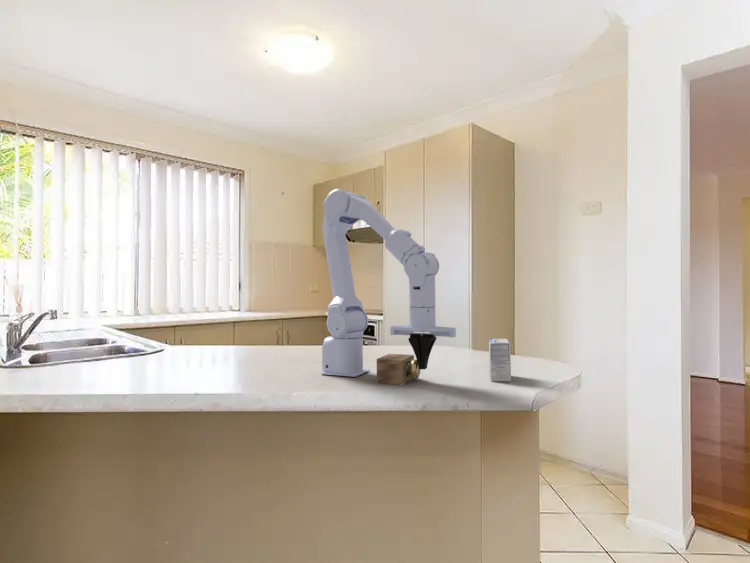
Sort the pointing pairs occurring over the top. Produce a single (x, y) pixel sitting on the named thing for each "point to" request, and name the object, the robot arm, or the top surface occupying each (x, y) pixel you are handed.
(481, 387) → the top surface
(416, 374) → the brass door knob
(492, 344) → the medicine box
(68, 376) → the top surface
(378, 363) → the block
